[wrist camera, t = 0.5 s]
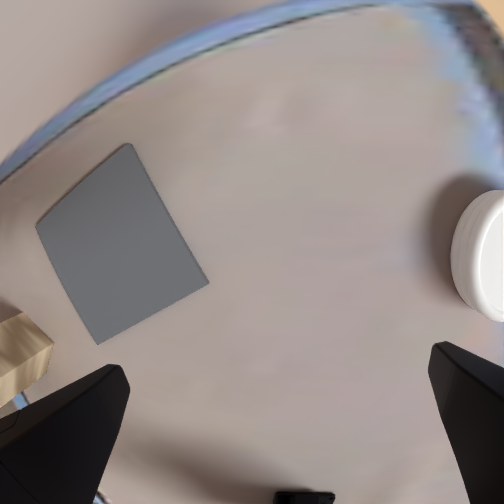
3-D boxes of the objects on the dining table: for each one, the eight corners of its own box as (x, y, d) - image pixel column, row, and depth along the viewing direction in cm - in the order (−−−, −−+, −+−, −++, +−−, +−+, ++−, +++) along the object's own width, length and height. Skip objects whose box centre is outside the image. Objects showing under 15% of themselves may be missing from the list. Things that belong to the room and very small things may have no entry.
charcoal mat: (209, 282, 23) (207, 284, 22) (100, 342, 25) (97, 345, 24) (131, 144, 22) (128, 143, 21) (39, 226, 24) (35, 226, 23)
